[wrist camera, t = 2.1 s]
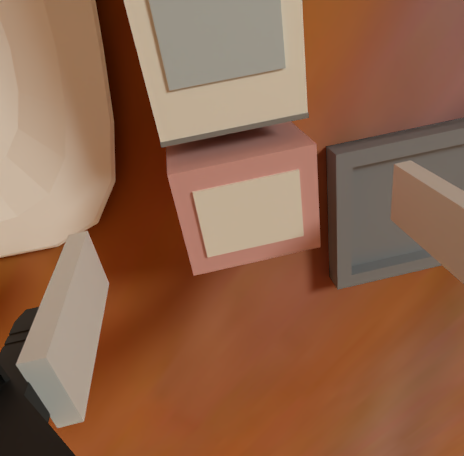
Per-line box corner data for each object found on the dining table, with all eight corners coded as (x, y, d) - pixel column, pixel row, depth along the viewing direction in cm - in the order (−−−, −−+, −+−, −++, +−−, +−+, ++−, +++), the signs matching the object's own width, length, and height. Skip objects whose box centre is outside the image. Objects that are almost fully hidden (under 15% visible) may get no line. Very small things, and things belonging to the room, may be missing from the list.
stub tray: (326, 146, 23) (336, 154, 21) (513, 107, 23) (533, 113, 22) (329, 276, 28) (337, 289, 27) (482, 241, 29) (497, 252, 27)
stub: (165, 126, 21) (167, 176, 15) (272, 105, 21) (317, 145, 15) (185, 206, 23) (193, 277, 17) (280, 186, 24) (321, 248, 18)
